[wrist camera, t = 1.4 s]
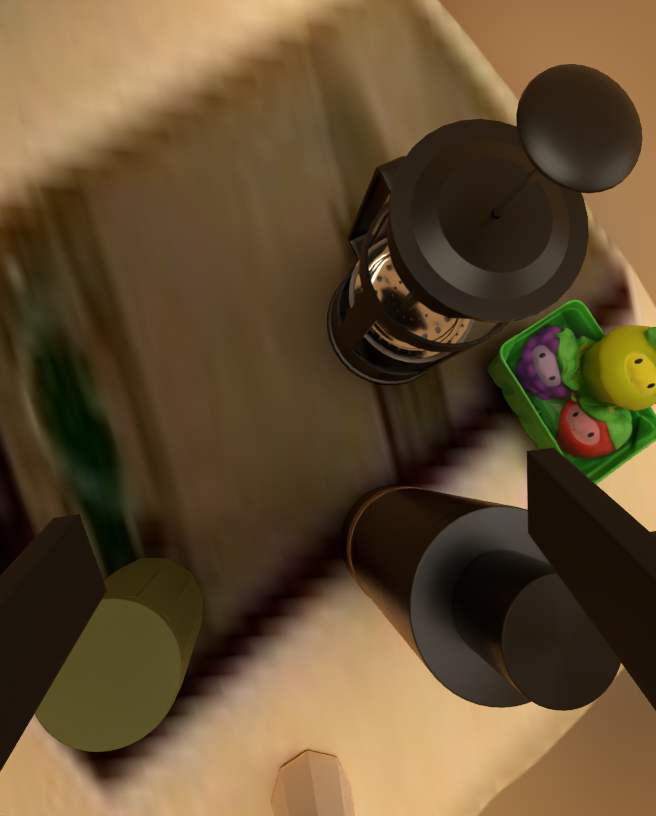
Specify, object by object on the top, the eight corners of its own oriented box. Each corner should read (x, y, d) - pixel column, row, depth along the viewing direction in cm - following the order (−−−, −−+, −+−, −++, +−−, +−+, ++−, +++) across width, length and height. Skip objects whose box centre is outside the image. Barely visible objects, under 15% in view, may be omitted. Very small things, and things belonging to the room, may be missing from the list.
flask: (320, 516, 35) (402, 591, 16) (417, 465, 37) (603, 472, 17) (372, 619, 35) (520, 826, 15) (466, 563, 36) (714, 686, 17)
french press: (471, 360, 38) (786, 216, 15) (366, 415, 36) (547, 342, 14) (401, 227, 38) (611, -106, 16) (294, 275, 37) (356, -20, 14)
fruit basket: (463, 363, 38) (549, 323, 27) (550, 307, 40) (664, 248, 28) (542, 488, 38) (660, 500, 27) (626, 427, 39) (771, 415, 28)
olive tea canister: (78, 589, 32) (1, 646, 23) (176, 538, 34) (143, 571, 24) (124, 683, 32) (67, 782, 22) (221, 629, 34) (206, 700, 24)
